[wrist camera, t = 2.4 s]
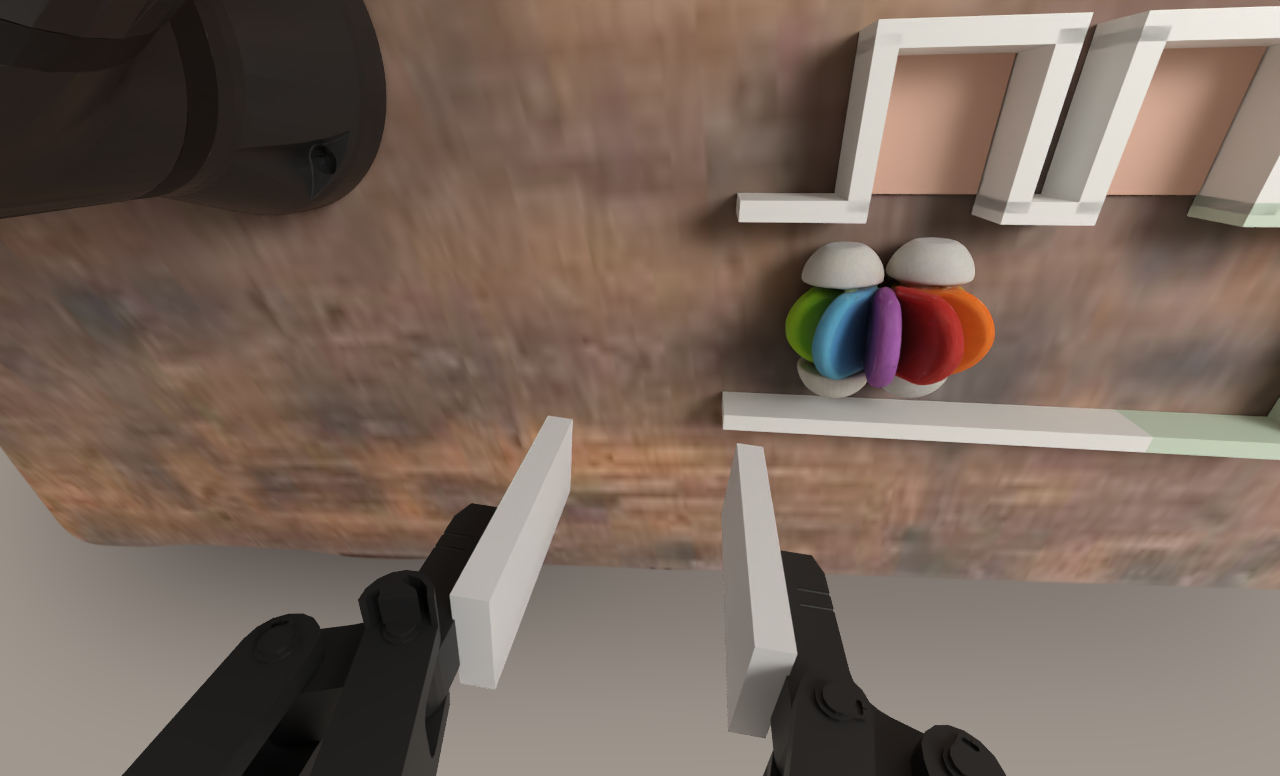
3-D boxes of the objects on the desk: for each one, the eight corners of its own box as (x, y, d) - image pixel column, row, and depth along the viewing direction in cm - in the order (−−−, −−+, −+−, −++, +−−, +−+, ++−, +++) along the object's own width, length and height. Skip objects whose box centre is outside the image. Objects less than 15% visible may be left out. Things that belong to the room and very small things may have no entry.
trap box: (721, 404, 33) (722, 429, 30) (749, 34, 24) (753, 23, 21) (1276, 432, 30) (1332, 462, 27) (1561, 9, 20) (1689, -8, 18)
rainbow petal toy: (942, 374, 31) (1003, 441, 24) (776, 376, 32) (793, 439, 25) (974, 229, 27) (1058, 263, 20) (785, 238, 28) (807, 272, 22)
